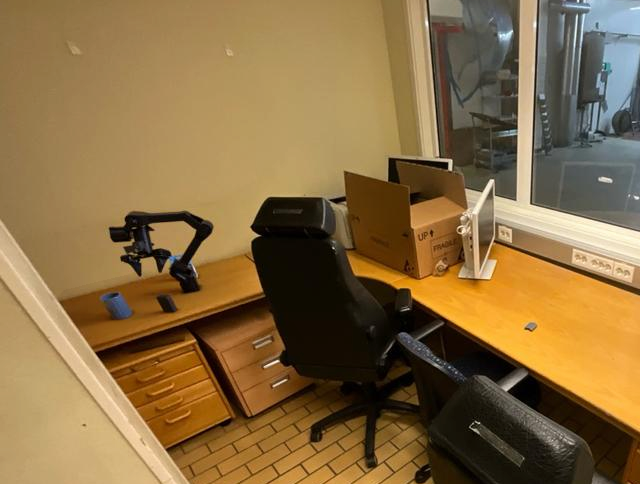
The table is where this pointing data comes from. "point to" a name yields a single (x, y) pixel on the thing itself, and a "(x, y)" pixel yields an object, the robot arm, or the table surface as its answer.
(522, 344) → the table surface
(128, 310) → the pen cup
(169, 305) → the ink cartridge
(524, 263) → the table surface
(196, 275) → the tape cartridge
